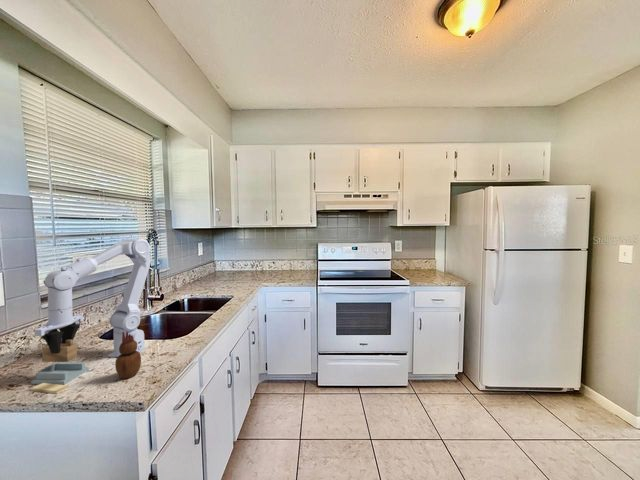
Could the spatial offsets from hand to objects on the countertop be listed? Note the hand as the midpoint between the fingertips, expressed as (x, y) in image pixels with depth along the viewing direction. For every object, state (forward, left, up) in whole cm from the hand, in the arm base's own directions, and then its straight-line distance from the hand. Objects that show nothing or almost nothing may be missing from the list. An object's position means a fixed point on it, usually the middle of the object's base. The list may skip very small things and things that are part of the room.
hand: (61, 350), depth 90 cm
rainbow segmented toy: (+17, -18, -9) cm, 26 cm away
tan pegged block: (0, 0, -3) cm, 3 cm away
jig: (0, 0, -9) cm, 9 cm away
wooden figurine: (-21, -1, -9) cm, 23 cm away
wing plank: (-3, +7, -9) cm, 12 cm away
